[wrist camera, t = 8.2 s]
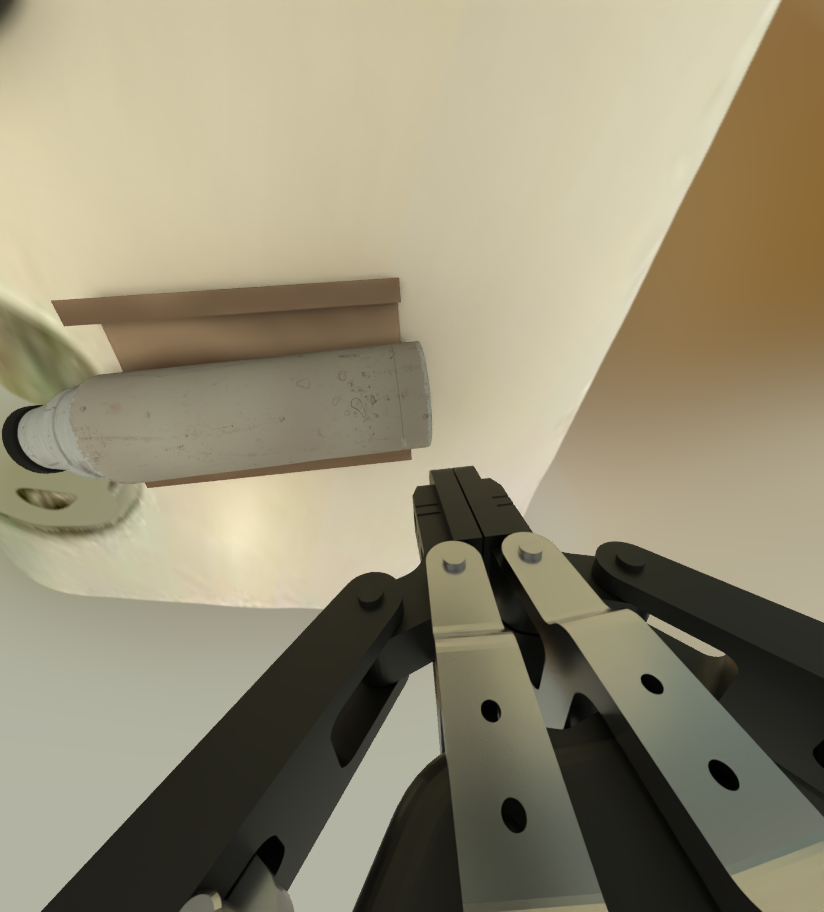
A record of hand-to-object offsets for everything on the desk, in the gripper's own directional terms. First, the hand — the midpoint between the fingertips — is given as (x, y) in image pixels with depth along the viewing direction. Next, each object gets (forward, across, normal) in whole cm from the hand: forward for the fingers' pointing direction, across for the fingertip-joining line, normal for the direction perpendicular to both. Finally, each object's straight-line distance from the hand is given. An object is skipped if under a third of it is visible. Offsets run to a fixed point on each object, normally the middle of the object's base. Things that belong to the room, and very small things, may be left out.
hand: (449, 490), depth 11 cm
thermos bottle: (+15, -1, +1) cm, 15 cm away
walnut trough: (+20, +11, 0) cm, 23 cm away
